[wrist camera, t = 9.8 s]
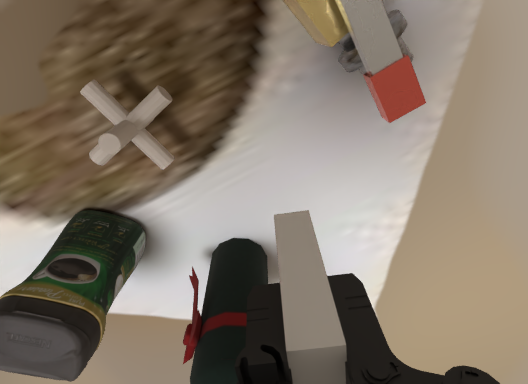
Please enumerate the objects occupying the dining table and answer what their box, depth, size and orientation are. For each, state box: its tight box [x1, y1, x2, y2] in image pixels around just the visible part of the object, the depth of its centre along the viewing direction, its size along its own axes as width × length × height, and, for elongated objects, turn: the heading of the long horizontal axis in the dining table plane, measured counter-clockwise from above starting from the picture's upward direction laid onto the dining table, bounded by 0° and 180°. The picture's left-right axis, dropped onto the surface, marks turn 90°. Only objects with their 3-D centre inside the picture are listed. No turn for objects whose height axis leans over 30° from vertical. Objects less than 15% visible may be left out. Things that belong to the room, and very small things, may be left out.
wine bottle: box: [183, 238, 268, 384], centre depth 32 cm, size 8×10×30 cm
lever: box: [335, 0, 426, 123], centre depth 23 cm, size 14×4×2 cm, turn 32°
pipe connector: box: [80, 80, 175, 170], centre depth 32 cm, size 10×10×10 cm
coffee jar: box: [0, 210, 146, 381], centre depth 35 cm, size 10×8×19 cm
